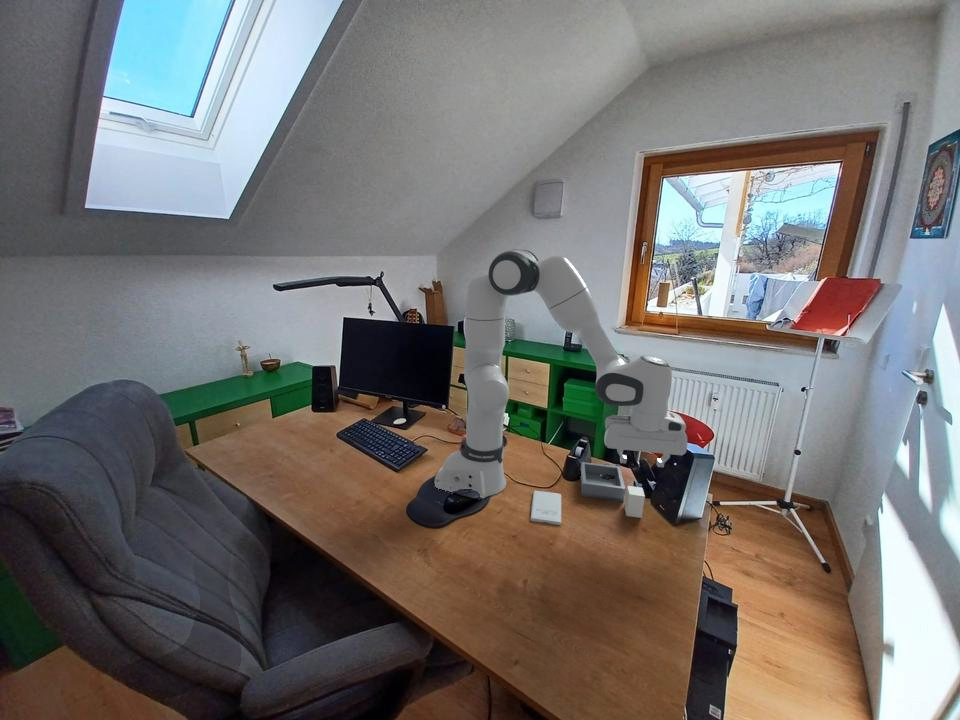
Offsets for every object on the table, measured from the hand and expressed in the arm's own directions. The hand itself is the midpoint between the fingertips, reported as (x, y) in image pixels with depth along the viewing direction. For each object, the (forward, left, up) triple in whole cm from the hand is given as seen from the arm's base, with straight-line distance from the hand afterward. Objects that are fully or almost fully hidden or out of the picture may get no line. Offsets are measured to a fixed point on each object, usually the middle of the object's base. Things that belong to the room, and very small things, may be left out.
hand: (641, 464), depth 104 cm
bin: (-8, +10, -15) cm, 20 cm away
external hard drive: (-24, -4, -16) cm, 30 cm away
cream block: (0, 0, -16) cm, 16 cm away
